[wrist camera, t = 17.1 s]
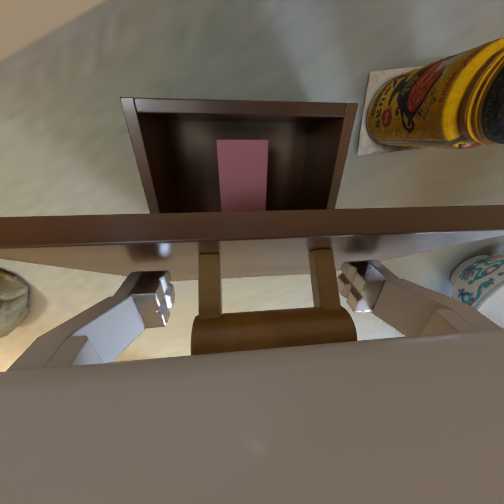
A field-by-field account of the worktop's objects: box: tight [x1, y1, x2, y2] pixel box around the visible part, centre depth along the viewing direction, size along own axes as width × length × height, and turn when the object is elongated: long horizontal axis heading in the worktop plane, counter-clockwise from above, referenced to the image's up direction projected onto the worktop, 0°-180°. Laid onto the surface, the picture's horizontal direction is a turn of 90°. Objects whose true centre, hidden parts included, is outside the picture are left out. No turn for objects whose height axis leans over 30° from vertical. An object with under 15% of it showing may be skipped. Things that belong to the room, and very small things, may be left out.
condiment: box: [357, 38, 504, 156], centre depth 16 cm, size 7×8×12 cm
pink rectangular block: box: [216, 139, 269, 212], centre depth 20 cm, size 7×4×4 cm, turn 0°
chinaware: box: [451, 253, 504, 328], centre depth 31 cm, size 15×15×8 cm
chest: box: [120, 97, 358, 214], centre depth 20 cm, size 14×16×8 cm
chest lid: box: [0, 205, 504, 355], centre depth 12 cm, size 14×16×4 cm
